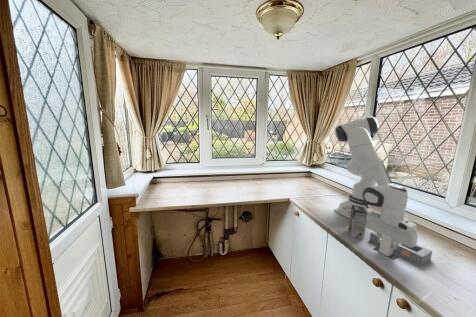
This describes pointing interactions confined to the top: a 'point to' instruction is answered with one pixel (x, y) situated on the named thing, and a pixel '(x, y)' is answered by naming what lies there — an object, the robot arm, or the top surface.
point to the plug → (386, 245)
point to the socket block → (408, 251)
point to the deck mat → (385, 255)
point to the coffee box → (357, 222)
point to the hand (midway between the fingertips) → (386, 245)
